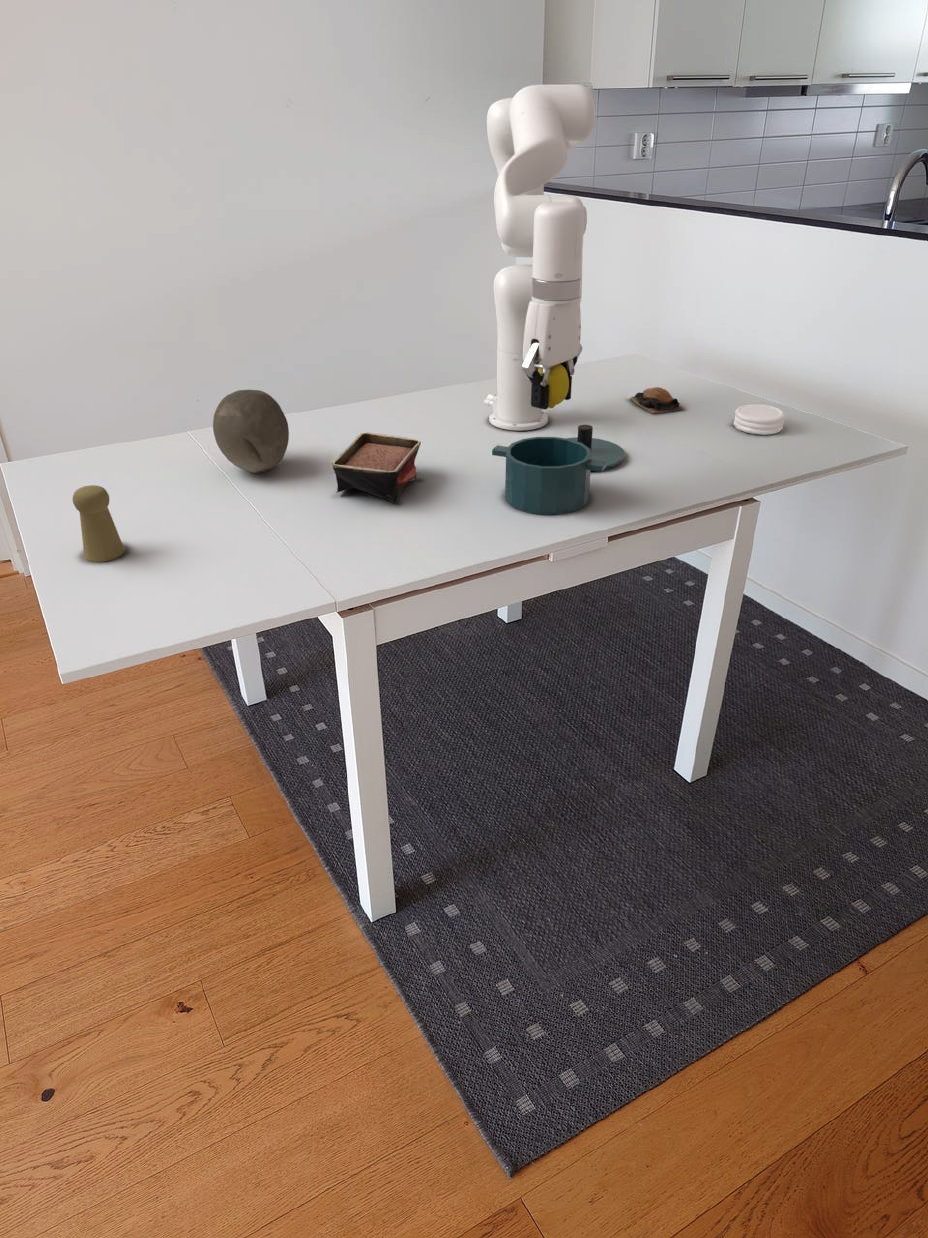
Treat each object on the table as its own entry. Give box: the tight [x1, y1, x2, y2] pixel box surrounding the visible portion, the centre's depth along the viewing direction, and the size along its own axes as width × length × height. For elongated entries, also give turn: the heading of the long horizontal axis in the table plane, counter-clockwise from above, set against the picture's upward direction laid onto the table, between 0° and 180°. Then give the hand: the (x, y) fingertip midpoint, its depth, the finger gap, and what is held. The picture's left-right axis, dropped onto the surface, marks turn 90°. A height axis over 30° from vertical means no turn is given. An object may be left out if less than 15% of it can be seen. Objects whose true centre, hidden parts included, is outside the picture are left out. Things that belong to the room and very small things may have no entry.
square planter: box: [332, 432, 422, 505], centre depth 159 cm, size 14×18×10 cm
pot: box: [491, 436, 607, 516], centre depth 155 cm, size 15×20×8 cm
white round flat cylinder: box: [733, 403, 786, 436], centre depth 185 cm, size 10×10×4 cm
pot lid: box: [565, 424, 626, 469], centre depth 171 cm, size 16×16×6 cm
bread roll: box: [630, 386, 683, 415], centre depth 198 cm, size 11×8×4 cm
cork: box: [72, 484, 126, 563], centre depth 137 cm, size 6×6×11 cm
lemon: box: [538, 364, 569, 409], centre depth 146 cm, size 6×6×8 cm
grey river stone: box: [212, 389, 290, 474], centre depth 165 cm, size 14×14×15 cm
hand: (550, 401), depth 148 cm, fingers closed on lemon, 5 cm apart
